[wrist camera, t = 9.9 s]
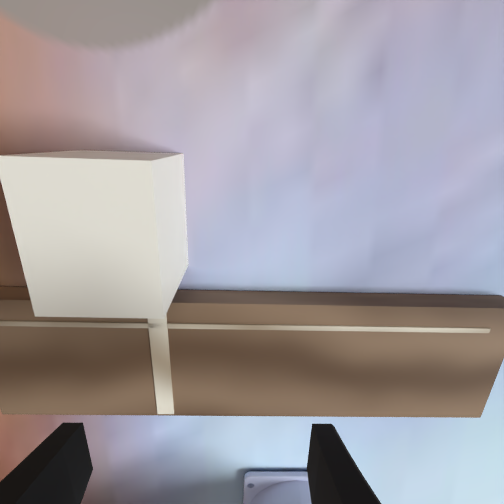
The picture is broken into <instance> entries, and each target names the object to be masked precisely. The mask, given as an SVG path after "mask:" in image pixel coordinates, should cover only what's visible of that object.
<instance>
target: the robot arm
mask: <svg viewBox="0 0 504 504" xmlns="http://www.w3.org/2000/svg"><path fill="white" fill-rule="evenodd" d="M92 470H93V467H92V462H91V458H90V453H89V449H88V444H87V440H86V435H85V431H84V426H83V423H62V424H61V425H60V426H59V427H58V428H57V429H56V430H55V431H54V432H53V433H52V434H50V435H49V436H48V437H47V438H46V439H45V440H44V441H43V442H42V443H41V444H40V445H39V446H38V447H37V448H36V449H35V450H34V451H33V452H32V453H31V454H29V455H28V456H27V457H26V458H25V459H24V460H23V461H22V462H21V463H20V464H19V465H18V466H17V467H16V468H15V469H14V470H13V471H12V472H10V473H9V474H8V475H7V476H6V477H5V478H4V479H3V480H2V481H1V482H0V504H80V503H81V501H82V498H83V495H84V493H85V490H86V487H87V484H88V482H89V479H90V476H91V473H92ZM243 504H381V503H380V501H379V500H378V498H377V497H376V495H375V494H374V492H373V490H372V489H371V487H370V486H369V484H368V483H367V481H366V480H365V478H364V477H363V475H362V473H361V472H360V470H359V469H358V467H357V465H356V464H355V462H354V460H353V459H352V457H351V455H350V454H349V452H348V450H347V449H346V447H345V445H344V443H343V442H342V440H341V438H340V436H339V434H338V433H337V431H336V429H335V427H334V426H333V425H332V424H312V430H311V438H310V447H309V455H308V463H307V472H247V473H246V474H245V475H244V498H243Z"/></svg>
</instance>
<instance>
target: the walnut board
mask: <svg viewBox="0 0 504 504" xmlns="http://www.w3.org/2000/svg"><path fill="white" fill-rule="evenodd" d="M503 358H504V297H503V296H499V295H444V294H389V293H334V292H280V291H225V290H177V291H176V293H175V296H174V298H173V300H172V302H171V304H170V307H169V309H168V311H167V313H166V315H165V318H164V319H148V318H91V317H35V315H34V311H33V307H32V303H31V299H30V295H29V291H28V287H5V286H0V409H1V412H2V414H46V415H191V416H337V417H481V415H482V412H483V410H484V407H485V404H486V402H487V399H488V397H489V394H490V392H491V389H492V387H493V384H494V381H495V379H496V376H497V374H498V371H499V369H500V366H501V364H502V361H503Z"/></svg>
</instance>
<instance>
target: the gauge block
mask: <svg viewBox="0 0 504 504" xmlns="http://www.w3.org/2000/svg"><path fill="white" fill-rule="evenodd" d="M0 179H1V183H2V187H3V191H4V195H5V199H6V203H7V207H8V211H9V215H10V219H11V223H12V227H13V231H14V235H15V239H16V243H17V247H18V251H19V255H20V259H21V263H22V267H23V271H24V275H25V279H26V283H27V287H28V291H29V295H30V299H31V303H32V307H33V311H34V315H35V317H91V318H148V319H164V318H165V315H166V313H167V311H168V309H169V307H170V304H171V302H172V300H173V298H174V296H175V293H176V291H177V289H178V287H179V285H180V282H181V280H182V278H183V276H184V274H185V271H186V269H187V267H188V247H187V224H186V201H185V178H184V156H183V153H155V152H125V151H95V150H73V151H58V152H43V153H28V154H12V155H0Z"/></svg>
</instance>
